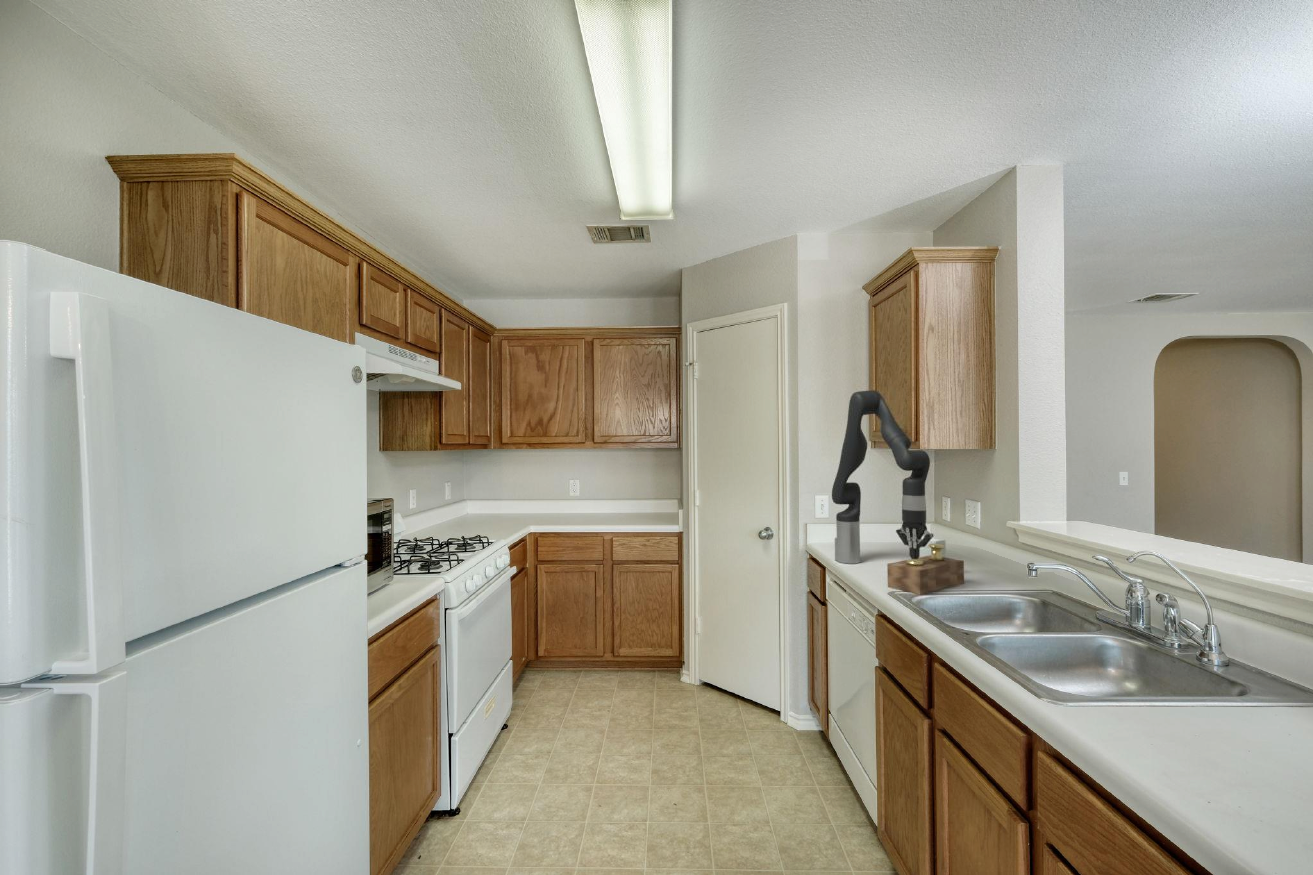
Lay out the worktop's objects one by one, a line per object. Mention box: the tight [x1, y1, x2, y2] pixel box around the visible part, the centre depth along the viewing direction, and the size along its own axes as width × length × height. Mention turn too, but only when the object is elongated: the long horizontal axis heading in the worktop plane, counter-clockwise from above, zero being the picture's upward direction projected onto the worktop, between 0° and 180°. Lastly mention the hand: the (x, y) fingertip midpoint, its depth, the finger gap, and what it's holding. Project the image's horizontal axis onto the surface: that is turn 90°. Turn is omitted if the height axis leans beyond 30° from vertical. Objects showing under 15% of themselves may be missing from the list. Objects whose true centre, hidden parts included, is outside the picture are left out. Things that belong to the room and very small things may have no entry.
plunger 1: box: [906, 559, 923, 567], centre depth 186 cm, size 5×5×8 cm
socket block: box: [886, 555, 965, 596], centre depth 189 cm, size 12×26×8 cm, turn 122°
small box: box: [919, 537, 947, 558], centre depth 206 cm, size 8×6×13 cm
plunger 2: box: [929, 544, 944, 562], centre depth 193 cm, size 5×5×8 cm
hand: (914, 558), depth 186 cm, fingers closed
